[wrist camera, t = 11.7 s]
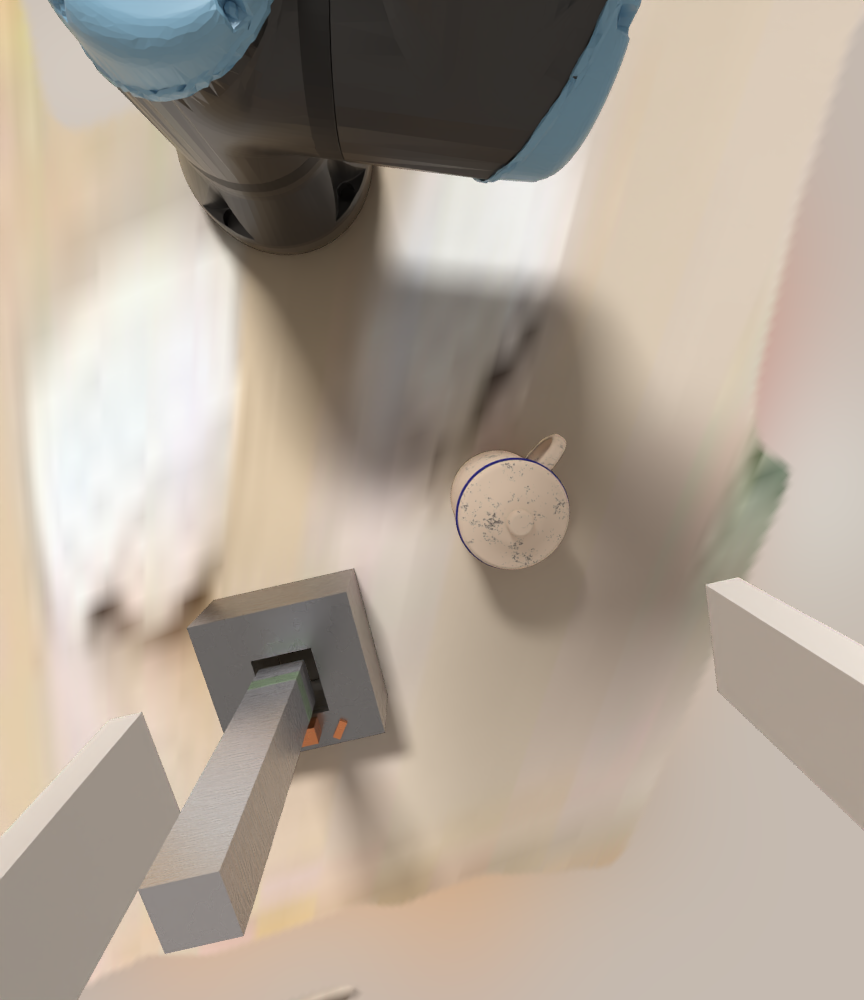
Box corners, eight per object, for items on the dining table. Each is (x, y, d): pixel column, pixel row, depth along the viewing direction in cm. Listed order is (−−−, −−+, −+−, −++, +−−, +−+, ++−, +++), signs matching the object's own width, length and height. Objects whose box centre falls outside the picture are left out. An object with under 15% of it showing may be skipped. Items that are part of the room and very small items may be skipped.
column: (258, 669, 44) (137, 889, 24) (304, 659, 44) (219, 870, 24) (274, 716, 45) (169, 964, 25) (318, 706, 45) (248, 946, 25)
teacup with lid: (502, 558, 50) (530, 606, 38) (428, 504, 48) (434, 537, 37) (580, 461, 48) (634, 481, 37) (507, 402, 47) (538, 403, 35)
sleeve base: (213, 600, 49) (178, 636, 42) (353, 568, 49) (343, 599, 42) (254, 724, 52) (229, 779, 45) (387, 694, 52) (384, 744, 45)
